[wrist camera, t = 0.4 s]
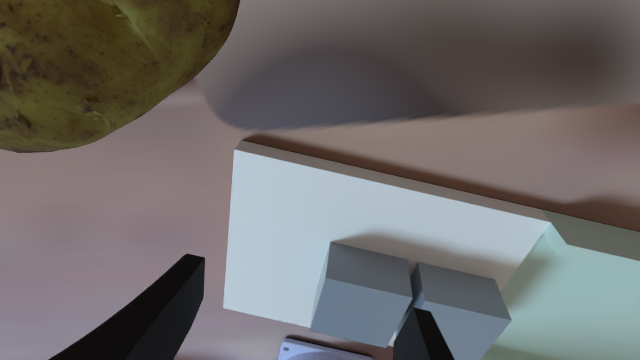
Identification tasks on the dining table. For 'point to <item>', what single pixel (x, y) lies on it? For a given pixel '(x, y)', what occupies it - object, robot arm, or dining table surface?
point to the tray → (574, 295)
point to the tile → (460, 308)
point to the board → (354, 228)
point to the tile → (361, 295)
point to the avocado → (97, 64)
